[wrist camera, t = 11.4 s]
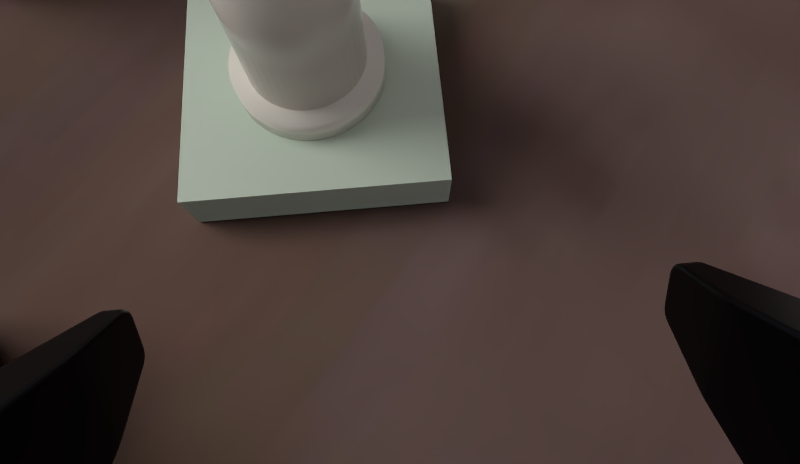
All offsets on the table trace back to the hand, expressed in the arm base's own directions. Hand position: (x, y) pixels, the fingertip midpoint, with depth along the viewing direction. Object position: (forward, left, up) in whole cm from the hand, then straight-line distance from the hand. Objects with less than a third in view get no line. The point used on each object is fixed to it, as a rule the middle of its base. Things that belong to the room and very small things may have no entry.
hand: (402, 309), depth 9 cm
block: (+13, -2, -14) cm, 19 cm away
